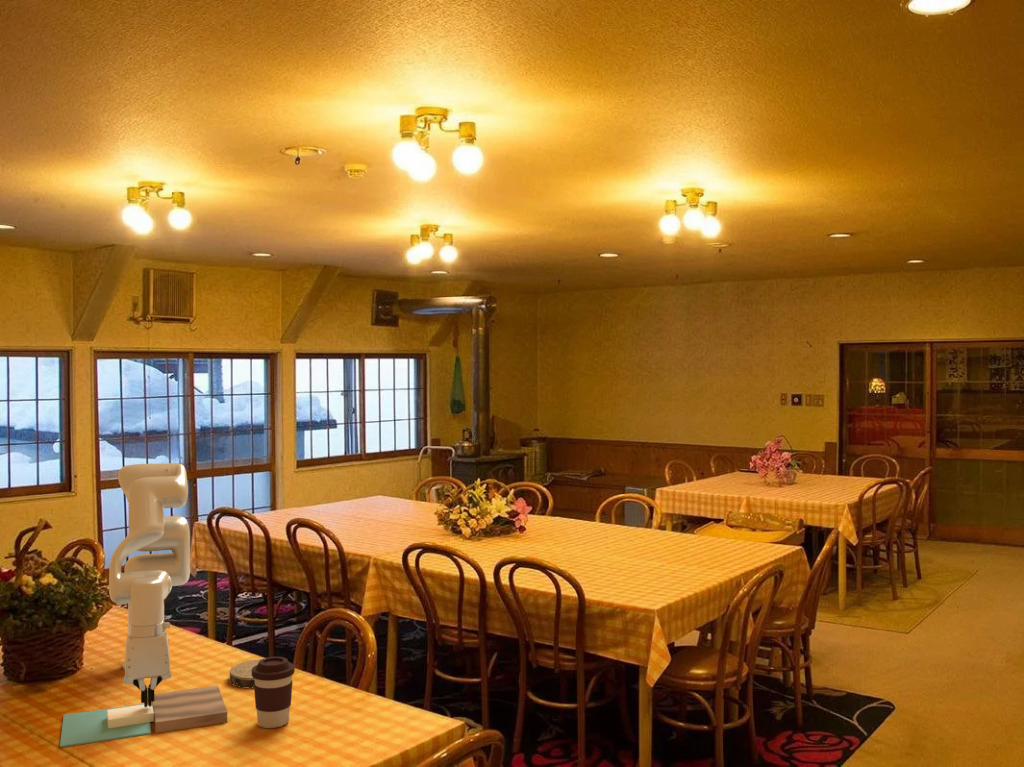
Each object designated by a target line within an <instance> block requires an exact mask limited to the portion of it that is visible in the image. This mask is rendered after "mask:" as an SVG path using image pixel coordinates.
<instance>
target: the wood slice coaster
mask: <svg viewBox="0 0 1024 767" xmlns="http://www.w3.org/2000/svg"><path fill="white" fill-rule="evenodd" d="M262 659H263V658H257V659H250V660H246V661H243V662H239V663H237V664H235V665H233V666H232V667H231V668H230V670H229V683H230V684H231V683H232V684H231V685H233V684H234V685H236V686H235V687H238V686H240V687H239V688H243V687H249V688H248V689H254V683H255V679H254V678H253V677H252V668H253V667H254V666H256V665H258V662H259V661H260V660H262ZM234 685H233V686H234ZM252 687H253V688H252Z"/></svg>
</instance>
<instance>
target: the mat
mask: <svg viewBox="0 0 1024 767" xmlns="http://www.w3.org/2000/svg"><path fill="white" fill-rule="evenodd" d="M137 705H144V703H140V704H139V703H138V704H131V705H124V706H118V707H111V708H110V707H108V708H104V709H95V710H90V711H89V710H88V711H83V712H82V711H80V712H74V713H67V714H63V718H62V726H61V733H60V734H61V735H60V741H59V742H60V743H59V748H66V747H68V748H69V747H75V746H80V745H87V744H88V745H89V744H94V743H99V742H106V741H111V740H112V741H113V740H118V739H119V740H120V739H127V738H133V737H139V736H146V735H152V728H151V722H146V723H140V724H134V725H127V726H121V727H115V728H108V720H107V710H110V709H117V708H123V707H130V706H137Z"/></svg>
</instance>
